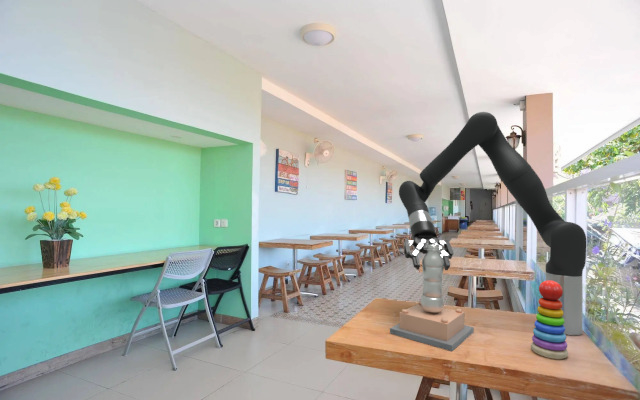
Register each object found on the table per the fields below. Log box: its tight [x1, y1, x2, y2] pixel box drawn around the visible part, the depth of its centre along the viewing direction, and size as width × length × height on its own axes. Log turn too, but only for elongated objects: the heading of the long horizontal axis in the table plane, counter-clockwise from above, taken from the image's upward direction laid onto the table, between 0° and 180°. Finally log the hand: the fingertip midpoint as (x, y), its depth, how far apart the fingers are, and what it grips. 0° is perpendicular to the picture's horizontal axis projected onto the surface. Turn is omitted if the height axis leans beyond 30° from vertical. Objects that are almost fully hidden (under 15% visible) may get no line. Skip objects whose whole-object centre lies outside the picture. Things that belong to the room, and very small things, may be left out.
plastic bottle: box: [420, 244, 445, 313], centre depth 101 cm, size 6×7×20 cm
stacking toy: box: [530, 280, 569, 360], centre depth 87 cm, size 8×8×19 cm
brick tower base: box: [389, 300, 475, 352], centre depth 100 cm, size 18×18×7 cm
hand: (432, 268), depth 100 cm, fingers open, 8 cm apart
